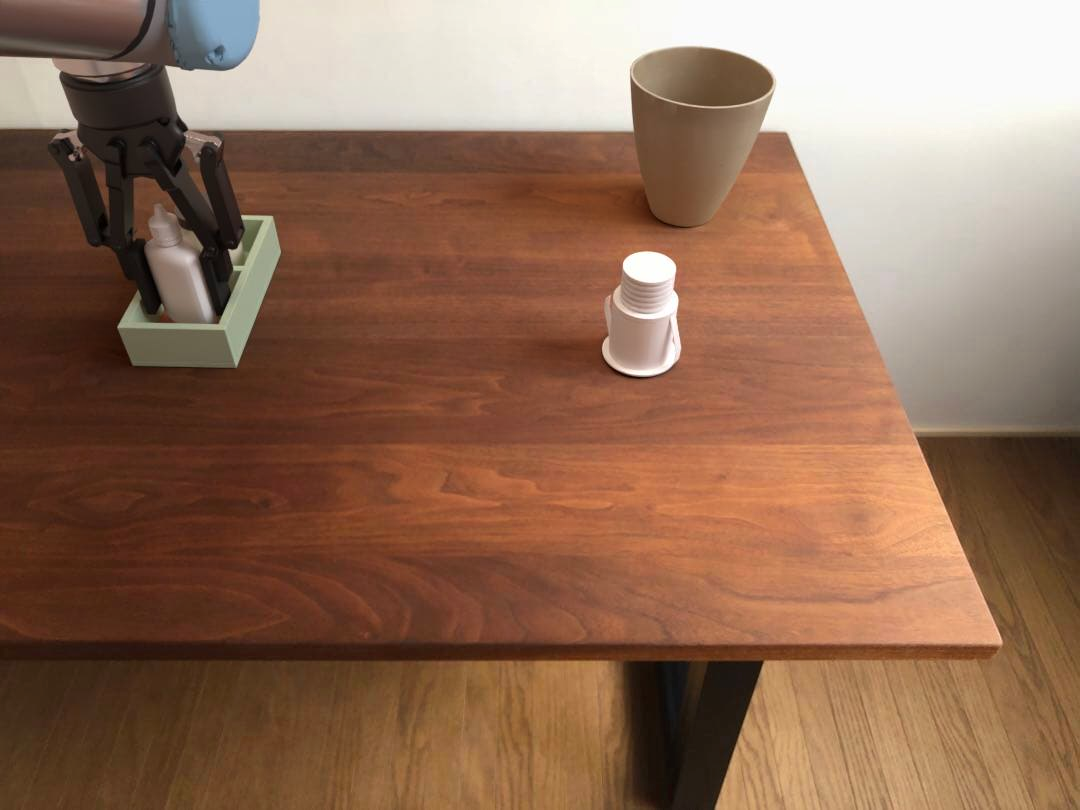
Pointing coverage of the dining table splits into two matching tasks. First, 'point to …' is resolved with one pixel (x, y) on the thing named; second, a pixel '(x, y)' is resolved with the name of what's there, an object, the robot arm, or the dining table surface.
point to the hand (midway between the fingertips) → (190, 305)
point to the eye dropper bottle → (178, 271)
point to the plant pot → (695, 126)
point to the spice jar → (235, 255)
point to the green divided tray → (208, 343)
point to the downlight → (643, 317)
